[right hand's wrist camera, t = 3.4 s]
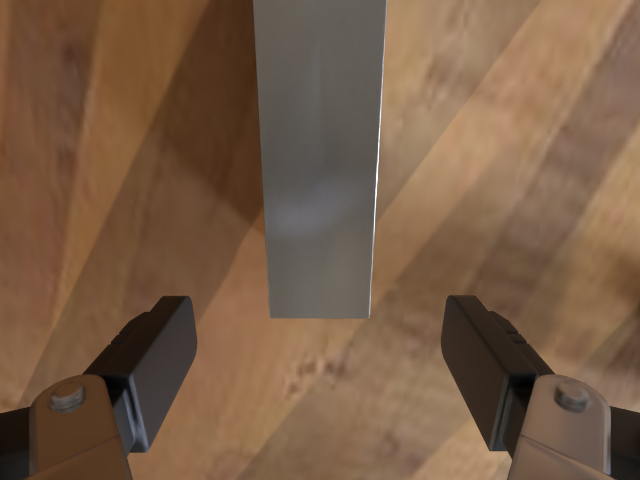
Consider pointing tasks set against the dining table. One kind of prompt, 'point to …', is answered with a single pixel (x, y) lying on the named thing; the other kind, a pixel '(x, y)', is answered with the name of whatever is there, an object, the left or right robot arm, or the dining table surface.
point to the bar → (319, 151)
